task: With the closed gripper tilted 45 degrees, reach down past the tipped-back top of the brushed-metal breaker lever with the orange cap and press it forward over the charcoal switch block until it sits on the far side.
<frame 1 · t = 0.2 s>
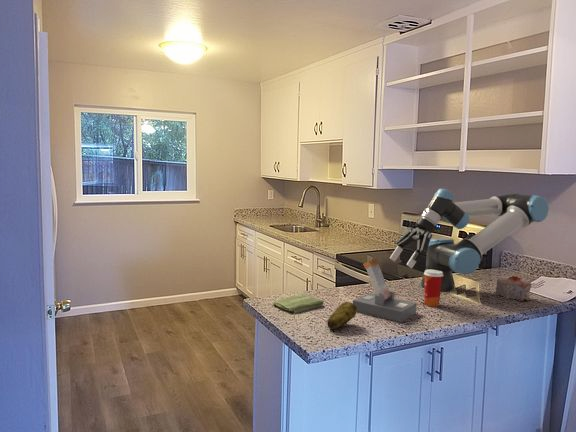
hand: (400, 263, 192), 16 cm above the worktop, tool tilted 35°, fingers open, 13 cm apart
potato: (340, 326, 160), on the worktop
switch block: (384, 311, 177), on the worktop
breaker lever: (378, 280, 178), point 12 cm above the worktop, hinge at -28.0°
paper cup: (431, 305, 188), on the worktop
food item: (512, 298, 202), on the worktop
washcloth: (298, 307, 182), on the worktop
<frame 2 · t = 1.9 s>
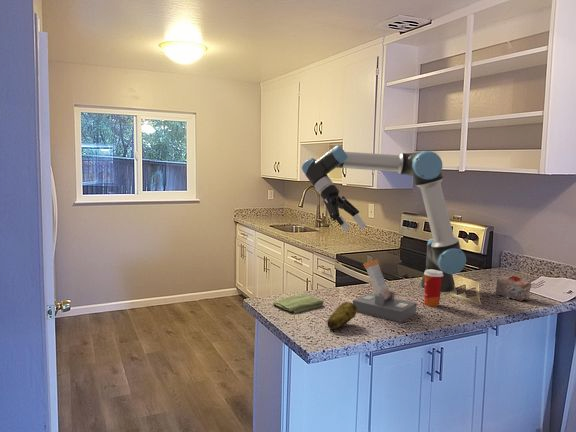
hand: (356, 229, 188), 30 cm above the worktop, tool tilted 45°, fingers open, 12 cm apart
nothing on the worktop moved.
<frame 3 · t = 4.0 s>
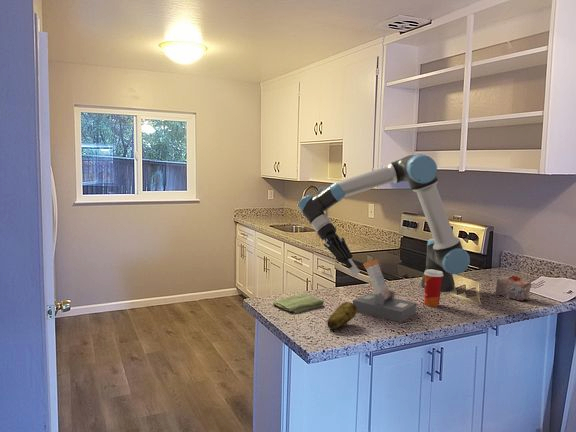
hand: (356, 273, 183), 13 cm above the worktop, tool tilted 45°, fingers closed
nothing on the worktop moved.
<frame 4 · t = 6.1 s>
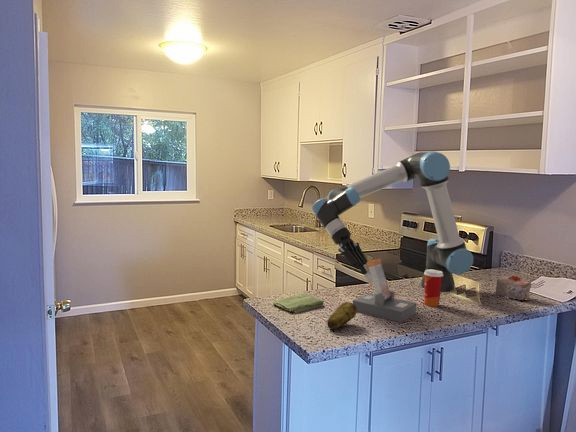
hand: (372, 279, 179), 12 cm above the worktop, tool tilted 45°, fingers closed
breaker lever: (379, 280, 178), point 12 cm above the worktop, hinge at -22.3°, touching gripper
everything else where it was.
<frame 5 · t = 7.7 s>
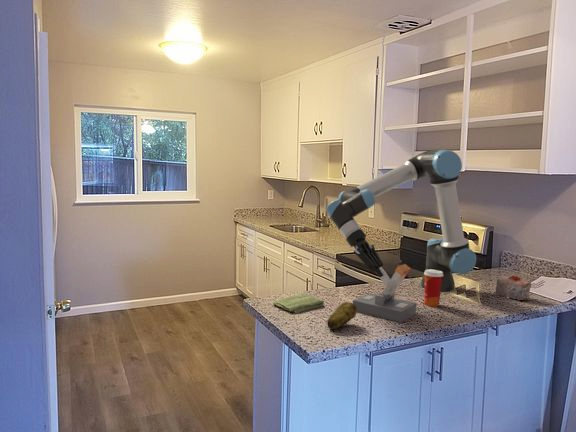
hand: (388, 283, 175), 12 cm above the worktop, tool tilted 45°, fingers closed
breaker lever: (393, 284, 174), point 12 cm above the worktop, hinge at 28.8°, touching gripper
everything else where it was.
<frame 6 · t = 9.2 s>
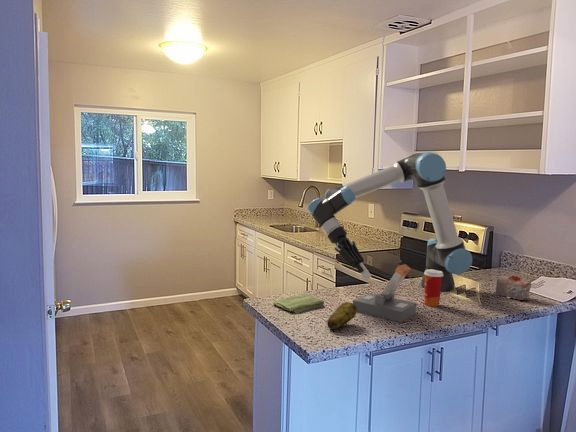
hand: (368, 278, 180), 12 cm above the worktop, tool tilted 45°, fingers closed
breaker lever: (393, 284, 174), point 12 cm above the worktop, hinge at 28.9°
everything else where it was.
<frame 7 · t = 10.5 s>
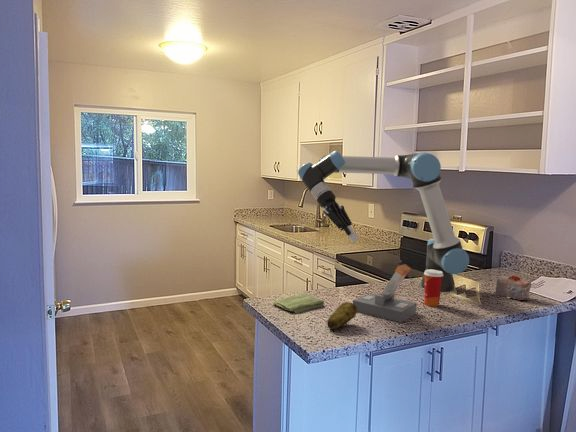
hand: (355, 240, 184), 26 cm above the worktop, tool tilted 45°, fingers closed
nothing on the worktop moved.
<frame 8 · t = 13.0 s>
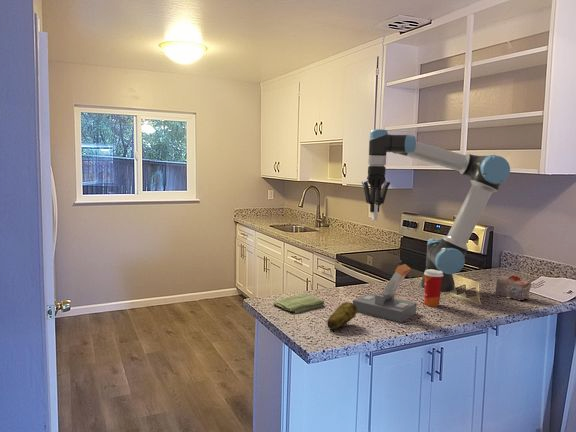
hand: (374, 219, 201), 32 cm above the worktop, tool pointing down, fingers closed
nothing on the worktop moved.
at the end: breaker lever at +29° (first picture: -28°); paper cup moved 0.2 cm from its start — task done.
